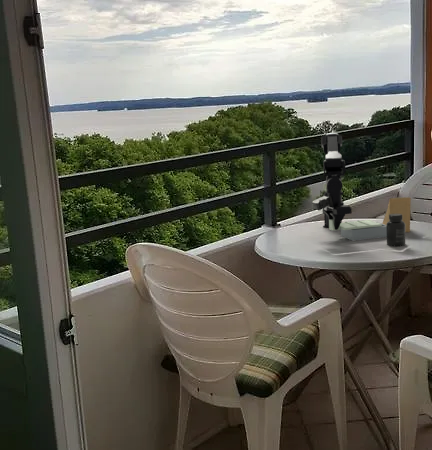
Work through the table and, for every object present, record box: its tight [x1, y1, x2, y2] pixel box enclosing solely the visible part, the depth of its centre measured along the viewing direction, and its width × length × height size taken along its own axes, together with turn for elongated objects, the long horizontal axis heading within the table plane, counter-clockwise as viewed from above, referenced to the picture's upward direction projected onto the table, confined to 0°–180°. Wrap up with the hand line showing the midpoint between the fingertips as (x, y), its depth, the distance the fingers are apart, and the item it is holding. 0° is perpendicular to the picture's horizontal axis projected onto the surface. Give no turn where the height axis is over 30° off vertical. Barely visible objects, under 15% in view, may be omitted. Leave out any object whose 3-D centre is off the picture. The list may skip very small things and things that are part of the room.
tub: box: [340, 221, 387, 242], centre depth 256 cm, size 16×10×5 cm, turn 105°
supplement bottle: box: [386, 214, 406, 248], centre depth 239 cm, size 7×7×12 cm
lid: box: [328, 219, 382, 231], centre depth 254 cm, size 19×10×4 cm, turn 105°
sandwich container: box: [382, 196, 412, 233], centre depth 267 cm, size 9×15×15 cm, turn 179°
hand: (334, 228), depth 253 cm, fingers closed on lid, 3 cm apart
